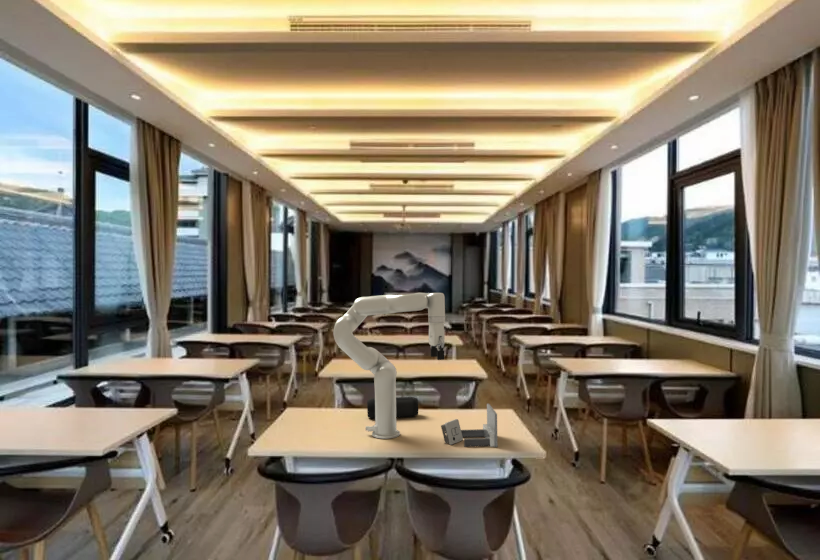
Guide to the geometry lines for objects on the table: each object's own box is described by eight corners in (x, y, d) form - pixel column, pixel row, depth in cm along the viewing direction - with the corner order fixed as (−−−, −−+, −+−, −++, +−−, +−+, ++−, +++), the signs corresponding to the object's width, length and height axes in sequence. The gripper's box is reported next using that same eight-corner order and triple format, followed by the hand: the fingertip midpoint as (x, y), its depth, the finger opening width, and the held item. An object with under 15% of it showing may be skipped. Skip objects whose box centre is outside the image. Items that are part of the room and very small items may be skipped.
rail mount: (465, 448, 235) (464, 414, 234) (459, 435, 254) (459, 404, 253) (497, 447, 235) (497, 413, 235) (489, 434, 254) (489, 403, 254)
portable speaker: (367, 420, 282) (367, 400, 281) (367, 415, 291) (367, 396, 291) (418, 418, 284) (418, 398, 284) (416, 413, 294) (416, 394, 294)
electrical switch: (451, 445, 239) (449, 423, 239) (441, 444, 242) (439, 422, 242) (463, 440, 246) (461, 418, 247) (453, 439, 249) (451, 418, 250)
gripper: (423, 319, 262) (424, 356, 262) (434, 322, 245) (435, 361, 245) (438, 318, 264) (439, 355, 264) (450, 321, 247) (451, 360, 247)
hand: (437, 358), depth 254 cm, fingers open, 9 cm apart
